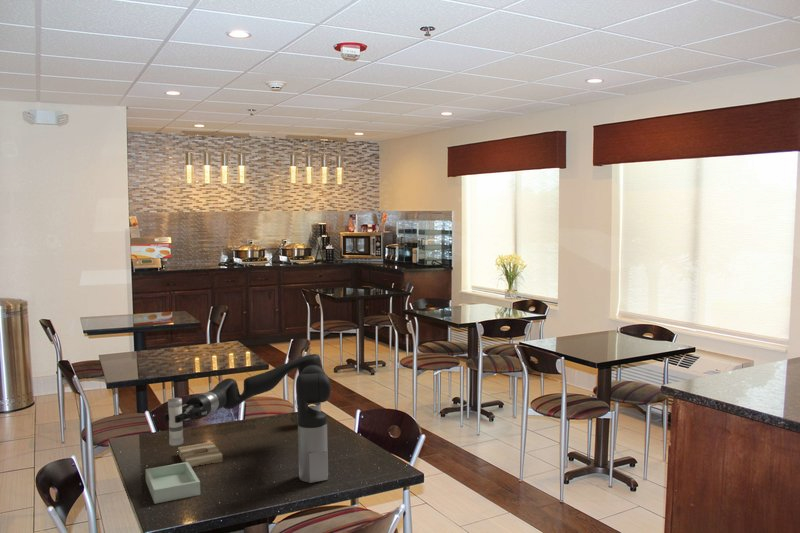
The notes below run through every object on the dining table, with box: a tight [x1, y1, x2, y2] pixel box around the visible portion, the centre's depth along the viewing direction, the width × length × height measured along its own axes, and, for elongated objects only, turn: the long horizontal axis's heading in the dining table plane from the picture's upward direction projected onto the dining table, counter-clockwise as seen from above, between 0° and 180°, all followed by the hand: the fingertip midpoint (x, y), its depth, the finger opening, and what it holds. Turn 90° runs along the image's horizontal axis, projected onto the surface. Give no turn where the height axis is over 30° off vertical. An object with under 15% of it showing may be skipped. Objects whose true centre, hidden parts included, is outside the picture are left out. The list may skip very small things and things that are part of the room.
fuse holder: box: [177, 441, 223, 468], centre depth 228 cm, size 16×12×2 cm
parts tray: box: [145, 462, 201, 504], centre depth 201 cm, size 20×13×4 cm, turn 28°
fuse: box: [167, 397, 184, 447], centre depth 205 cm, size 4×4×14 cm
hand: (170, 419), depth 202 cm, fingers closed on fuse, 4 cm apart
